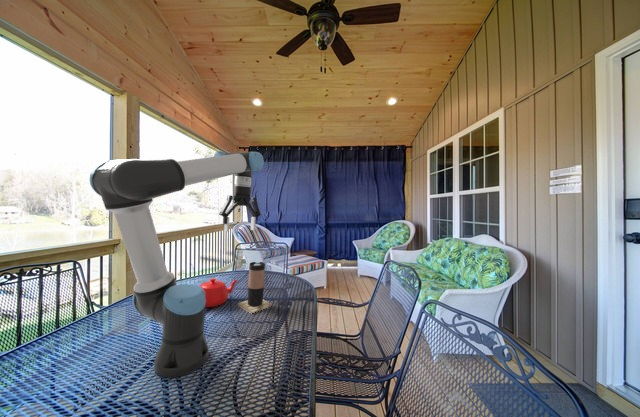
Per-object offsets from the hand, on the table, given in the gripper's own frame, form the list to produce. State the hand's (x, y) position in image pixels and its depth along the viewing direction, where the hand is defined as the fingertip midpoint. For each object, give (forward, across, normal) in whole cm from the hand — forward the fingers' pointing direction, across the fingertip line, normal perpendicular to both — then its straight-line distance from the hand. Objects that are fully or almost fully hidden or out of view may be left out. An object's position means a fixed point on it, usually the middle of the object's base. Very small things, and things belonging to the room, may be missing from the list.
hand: (240, 230), depth 112 cm
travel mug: (+37, +9, -3) cm, 38 cm away
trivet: (+38, +9, -3) cm, 39 cm away
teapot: (+38, -5, +14) cm, 41 cm away
